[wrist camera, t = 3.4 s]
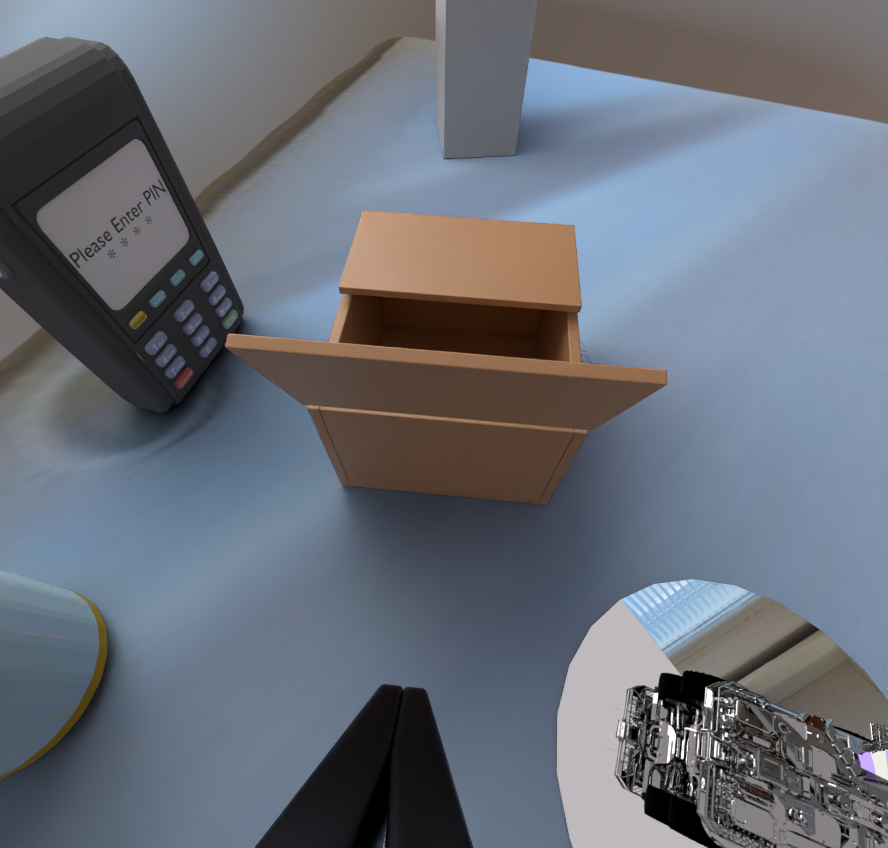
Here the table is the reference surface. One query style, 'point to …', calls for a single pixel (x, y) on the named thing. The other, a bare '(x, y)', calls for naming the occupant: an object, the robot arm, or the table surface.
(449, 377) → the lid flap
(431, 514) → the table surface
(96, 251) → the card reader
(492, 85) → the perfume bottle
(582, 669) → the toy car
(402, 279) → the carton
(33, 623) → the bottle
